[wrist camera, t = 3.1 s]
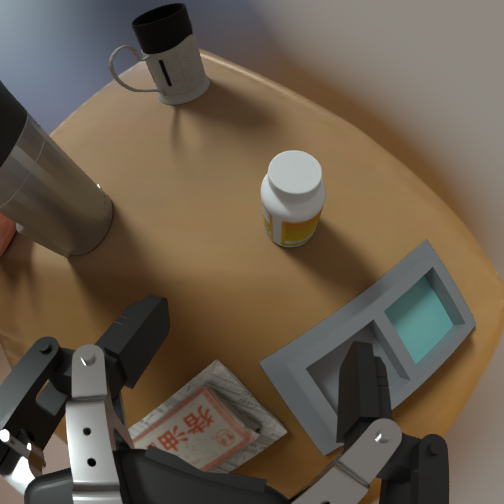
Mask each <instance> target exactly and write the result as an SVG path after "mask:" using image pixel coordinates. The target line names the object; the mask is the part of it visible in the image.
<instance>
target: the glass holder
mask: <svg viewBox="0 0 504 504" xmlns="http://www.w3.org/2000/svg"><path fill="white" fill-rule="evenodd" d="M132 27H133V30H134V32H135V34H136V37H137V39H138V41H139V44H140V46H141V52H142V54H143V56H144V58H143V59H141V58H140V56H139V54H138V52H137V51H136V49H135V48H133V47H131V46H128V45H127V46H121V47H118V48H117V49H116V50H115V51H114V52H113V53H112V55H111V57H110V59H109V69H110V72H111V74H112V75H113V77H114V79H115V80H116V81H117V82H118V83H119V84H120V85H121V86H123V87H125V88H126V89H128V90H131V91H134V92H159V93H158V97H159V100H160V101H161V102H162V103H164V104H167V105H179V104H183V103H187V102H190V101H192V100H194V99H196V98H198V97H199V96H201V95H202V94H203V93H205V92H206V91H207V89H208V88H209V86H210V79H209V78H208V77H207V76H206V74H205V72H204V68H203V64H202V60H201V57H200V53H199V49H198V45H197V42H196V38H195V34H194V30H193V26H192V23H191V21H190V19H189V16H188V13H187V9H186V6H185V4H183V3H175V4H169V5H165V6H161V7H158V8H155V9H153V10H150V11H148V12H146V13H144V14H142V15H140V16H139V17H137V18H136V19H135V20H134V21H133V22H132ZM123 48H127V49H130V50H131V51H132V52H133V54H134V56H135V58H136V59H137V60H138V61H146V63H147V66H148V68H149V70H150V73H151V75H152V77H153V80H154V82H155V84H156V86H157V89H134V88H132V87H130V86H128V85H126V84H124V83H123V82H122V81H121V80H120V79H119V77H118V76H117V74H116V73H115V71H114V68H113V59H114V57H115V55H116V53H117V52H118V51H120V50H121V49H123Z"/></svg>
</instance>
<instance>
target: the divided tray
mask: <svg viewBox="0 0 504 504" xmlns="http://www.w3.org/2000/svg"><path fill="white" fill-rule="evenodd" d="M475 325H476V322H475V320H474V318H473V316H472V314H471V312H470V310H469V308H468V306H467V304H466V302H465V300H464V298H463V297H462V295H461V293H460V291H459V289H458V288H457V286H456V284H455V282H454V281H453V279H452V277H451V276H450V274H449V272H448V271H447V269H446V268H445V266H444V264H443V263H442V261H441V260H440V258H439V257H438V255H437V254H436V252H435V251H434V249H433V248H432V246H431V245H430V243H429V242H428V240H427V239H426V240H425V241H423V242H422V243H421V244H420V245H419V246H418V247H417V248H416V249H414V250H413V251H412V252H411V253H410V254H409V255H407V256H406V257H405V258H404V259H403V260H402V261H400V262H399V263H398V264H397V265H396V266H395V267H393V268H392V269H391V270H390V271H388V272H387V273H386V274H385V275H384V276H382V277H381V278H380V279H379V280H377V281H376V282H375V283H374V284H372V285H371V286H370V287H368V288H367V289H366V290H365V291H363V292H362V293H361V294H359V295H358V296H357V297H355V298H354V299H353V300H351V301H350V302H349V303H347V304H346V305H345V306H343V307H342V308H340V309H339V310H338V311H336V312H335V313H333V314H332V315H331V316H329V317H328V318H326V319H325V320H323V321H322V322H321V323H319V324H318V325H316V326H315V327H313V328H312V329H310V330H309V331H307V332H306V333H304V334H303V335H301V336H300V337H298V338H297V339H295V340H294V341H292V342H290V343H289V344H287V345H286V346H284V347H283V348H281V349H279V350H278V351H276V352H275V353H273V354H271V355H270V356H268V357H266V358H265V359H263V360H261V361H260V362H259V364H260V365H261V367H262V368H263V370H264V371H265V373H266V374H267V376H268V378H269V379H270V381H271V382H272V384H273V385H274V387H275V388H276V390H277V391H278V393H279V394H280V395H281V397H282V398H283V400H284V401H285V403H286V404H287V406H288V407H289V409H290V410H291V411H292V413H293V414H294V416H295V417H296V419H297V420H298V421H299V423H300V424H301V426H302V427H303V429H304V430H305V431H306V433H307V434H308V435H309V437H310V438H311V440H312V441H313V442H314V444H315V445H316V446H317V448H318V449H319V450H320V452H321V453H322V454H323V456H325V455H326V454H328V453H330V452H332V451H333V450H335V449H337V448H338V447H340V446H342V445H344V443H336V435H337V417H338V387H339V371H340V367H341V364H342V362H343V360H344V358H345V356H346V355H347V353H348V351H349V349H350V347H351V344H352V343H353V341H361V342H368V343H371V344H372V346H373V353H374V356H379V357H381V359H382V361H383V362H384V364H385V366H386V370H387V376H388V377H387V379H388V384H389V386H388V387H389V391H390V400H391V409H392V410H393V409H394V408H395V407H396V406H398V405H399V404H400V403H401V402H402V401H404V400H405V399H406V398H407V397H408V396H409V395H411V394H412V393H413V392H414V391H415V390H416V389H417V388H418V387H419V386H420V385H422V384H423V383H424V382H425V381H426V380H427V379H428V378H429V377H430V376H431V375H432V374H433V373H434V372H435V371H436V370H437V369H438V368H439V367H440V366H441V365H442V364H443V363H444V362H445V361H446V359H447V358H448V357H449V356H450V355H451V354H452V353H453V352H454V351H455V350H456V348H457V347H458V346H459V345H460V344H461V343H462V341H463V340H464V339H465V338H466V337H467V335H468V334H469V333H470V332H471V330H472V329H473V328H474V327H475Z"/></svg>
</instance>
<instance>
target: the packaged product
mask: <svg viewBox="0 0 504 504" xmlns="http://www.w3.org/2000/svg"><path fill="white" fill-rule="evenodd" d="M128 431H129V433H130V436H131V438H132V441H133V444H134V448H135V449H148V447H149V445H152V446H154V447H156V448H159V449H161V450H164V451H166V452H169V453H171V454H174V455H177V456H178V457H180V458H181V459H183V460H184V461H186V462H187V463H189V464H191V465H192V466H194V467H196V468H197V469H199V470H201V471H203V472H211V473H230V472H231V471H233V470H234V469H236V468H238V467H239V466H240V465H242V464H243V463H245V462H247V461H248V460H250V459H251V458H253V457H254V456H256V455H257V454H259V453H260V452H261V451H263V450H265V449H266V448H267V447H268V446H270V445H271V444H273V443H274V442H275V441H276V440H278V439H279V438H280V437H282V436H283V435H285V434H286V433H287V432H288V431H287V430H286V429H285V427H284V426H283V425H282V424H281V423H280V421H279V420H278V419H277V418H276V417H275V416H273V415H272V414H271V413H270V412H269V411H268V410H267V409H266V408H265V407H264V406H263V405H261V403H260V402H259V401H258V400H257V399H256V398H255V397H254V396H253V395H252V394H251V393H250V392H249V391H248V389H247V388H246V387H245V386H244V385H243V384H242V383H241V382H240V381H239V379H238V378H237V377H236V376H235V375H234V374H233V373H232V372H231V371H230V370H229V369H228V368H226V367H225V366H224V365H223V364H222V363H221V362H220V361H219V360H217V359H216V360H215V361H214V362H213V363H211V364H210V365H209V366H208V367H207V368H205V369H204V370H203V371H202V372H200V373H199V374H198V375H197V376H195V377H194V378H193V379H192V380H191V381H189V382H188V383H187V384H186V385H184V386H183V387H182V388H181V389H180V390H178V391H177V392H176V393H175V394H173V395H172V396H171V397H170V398H169V399H167V400H166V401H165V402H164V403H162V404H161V405H160V406H159V407H157V408H156V409H154V410H153V411H152V412H151V413H149V414H148V415H147V416H146V417H145V418H143V419H142V420H140V421H139V422H138V423H137V424H135V425H133V426H132V427H131V428H129V429H128Z"/></svg>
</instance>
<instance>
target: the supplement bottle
mask: <svg viewBox="0 0 504 504" xmlns="http://www.w3.org/2000/svg"><path fill="white" fill-rule="evenodd" d="M325 197H326V190H325V185H324V183H323V181H322V169H321V166H320V164H319V162H318V161H317V160H316V159H315V158H314V157H313V156H311V155H309V154H308V153H305V152H302V151H296V150H291V151H285V152H282V153H280V154H278V155H277V156H275V157H274V158H273V160H272V161H271V163H270V165H269V168H268V173H267V175H266V176H265V178H264V179H263V182H262V185H261V202H262V211H263V220H264V227H265V230H266V233H267V235H268V236H269V237H270V239H271V240H272V241H274V242H275V243H277V244H278V245H281V246H284V247H297V246H300V245H303V244H304V243H306V242H307V241H308V240H309V239H310V238H311V237H312V236H313V234H314V232H315V229H316V226H317V224H318V220H319V217H320V214H321V211H322V208H323V205H324V202H325Z"/></svg>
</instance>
